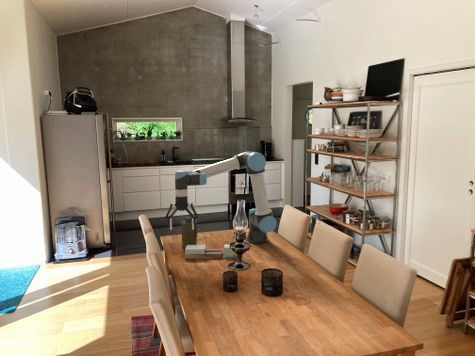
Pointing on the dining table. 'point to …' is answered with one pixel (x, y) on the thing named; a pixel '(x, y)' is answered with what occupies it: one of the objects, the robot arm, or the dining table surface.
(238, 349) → the dining table surface
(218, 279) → the dining table surface
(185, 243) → the canister
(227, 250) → the stop block
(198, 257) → the runners
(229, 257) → the pad
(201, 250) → the slab
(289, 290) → the dining table surface
